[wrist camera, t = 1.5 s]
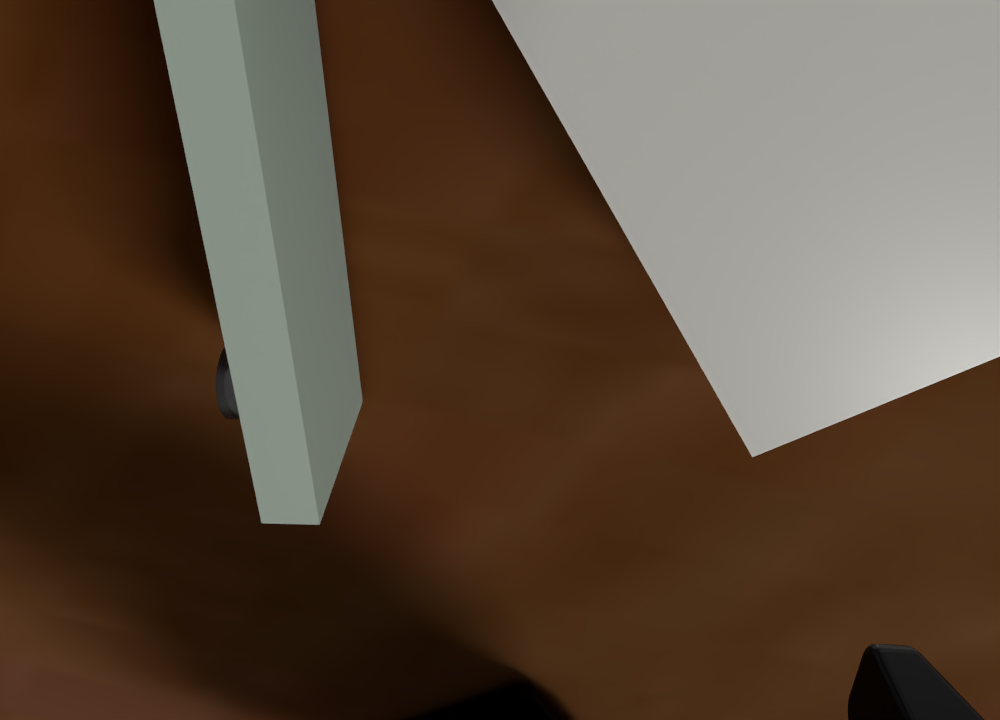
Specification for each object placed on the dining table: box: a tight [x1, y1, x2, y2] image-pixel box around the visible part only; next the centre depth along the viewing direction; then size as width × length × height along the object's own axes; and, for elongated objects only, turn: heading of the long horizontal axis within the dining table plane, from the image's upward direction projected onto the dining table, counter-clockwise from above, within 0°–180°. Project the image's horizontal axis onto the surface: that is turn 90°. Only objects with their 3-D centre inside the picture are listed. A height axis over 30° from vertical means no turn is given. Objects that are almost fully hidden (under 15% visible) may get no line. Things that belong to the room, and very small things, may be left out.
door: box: [154, 0, 363, 525], centre depth 16 cm, size 2×16×4 cm, turn 1°
